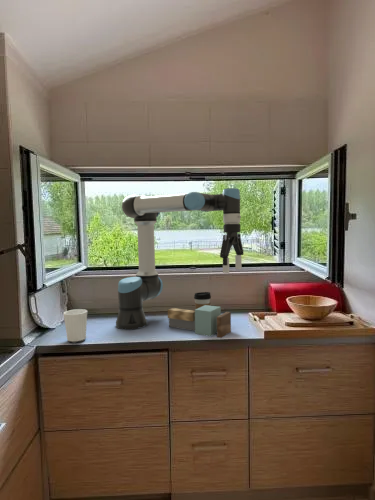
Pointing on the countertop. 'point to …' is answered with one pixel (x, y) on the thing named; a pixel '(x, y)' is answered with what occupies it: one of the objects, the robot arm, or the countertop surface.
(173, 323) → the rail
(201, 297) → the coffee cup
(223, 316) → the wall
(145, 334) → the countertop surface
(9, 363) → the countertop surface
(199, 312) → the bore block
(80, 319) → the cup
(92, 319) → the countertop surface
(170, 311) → the oak peg
